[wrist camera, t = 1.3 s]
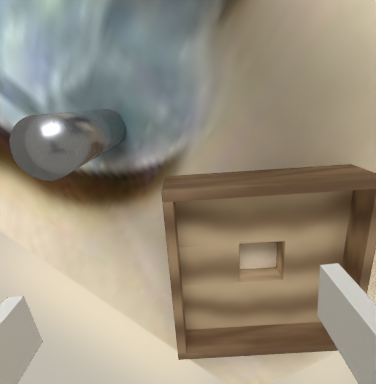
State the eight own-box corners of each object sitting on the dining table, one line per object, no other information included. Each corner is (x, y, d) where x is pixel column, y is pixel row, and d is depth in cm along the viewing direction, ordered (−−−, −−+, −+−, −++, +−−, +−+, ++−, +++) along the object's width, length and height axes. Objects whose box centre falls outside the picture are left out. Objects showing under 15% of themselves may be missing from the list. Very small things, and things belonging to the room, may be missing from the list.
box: (165, 176, 31) (161, 192, 25) (351, 164, 31) (389, 178, 25) (179, 321, 38) (178, 359, 32) (330, 312, 38) (356, 349, 32)
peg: (86, 110, 29) (1, 117, 15) (122, 108, 29) (69, 112, 15) (93, 147, 30) (19, 182, 17) (127, 144, 30) (82, 178, 17)
